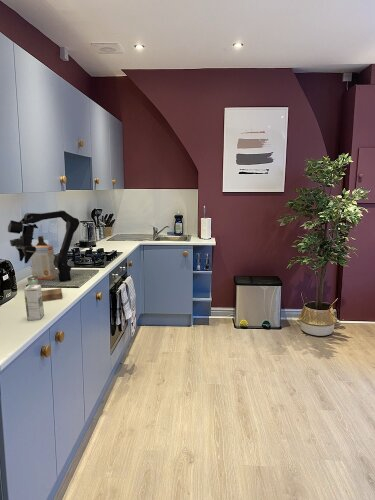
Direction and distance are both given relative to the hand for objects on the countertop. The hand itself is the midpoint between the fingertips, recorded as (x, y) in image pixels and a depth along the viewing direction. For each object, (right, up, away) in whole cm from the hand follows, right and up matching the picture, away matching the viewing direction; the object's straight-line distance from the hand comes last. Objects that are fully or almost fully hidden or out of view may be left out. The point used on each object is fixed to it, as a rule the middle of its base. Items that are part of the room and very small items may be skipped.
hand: (23, 262), depth 215 cm
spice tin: (+10, -17, -8) cm, 21 cm away
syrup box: (+26, -24, -46) cm, 58 cm away
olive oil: (-2, -9, +38) cm, 39 cm away
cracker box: (+4, -11, +23) cm, 26 cm away
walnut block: (+23, -18, -17) cm, 34 cm away
